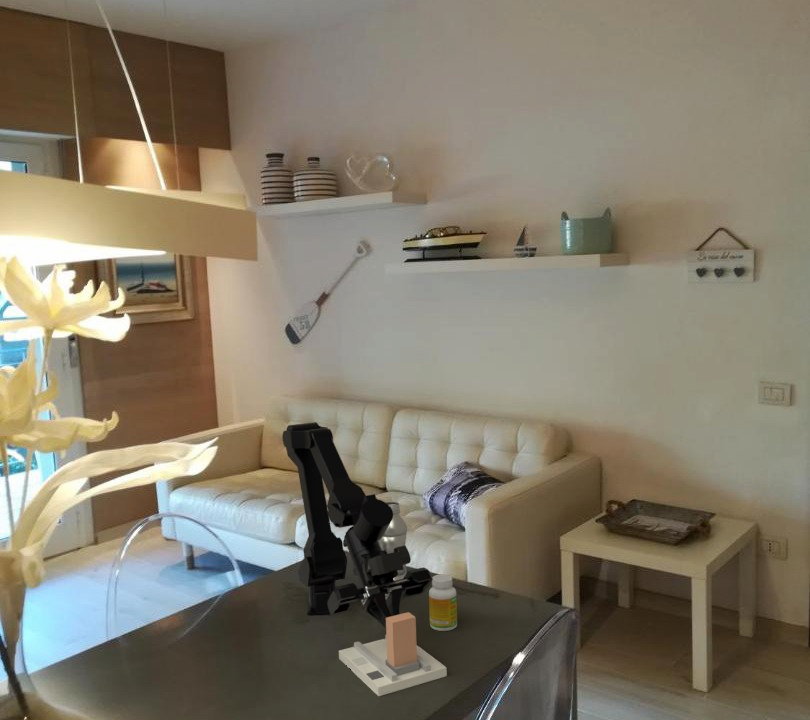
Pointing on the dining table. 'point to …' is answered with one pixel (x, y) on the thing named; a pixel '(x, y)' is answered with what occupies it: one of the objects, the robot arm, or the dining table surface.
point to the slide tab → (401, 643)
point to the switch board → (379, 676)
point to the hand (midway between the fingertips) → (397, 635)
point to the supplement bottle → (442, 603)
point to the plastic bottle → (395, 535)
